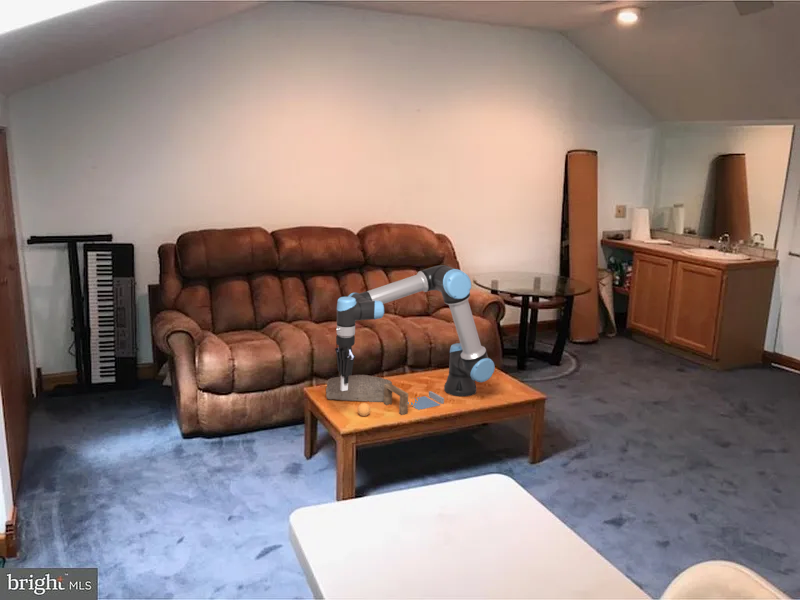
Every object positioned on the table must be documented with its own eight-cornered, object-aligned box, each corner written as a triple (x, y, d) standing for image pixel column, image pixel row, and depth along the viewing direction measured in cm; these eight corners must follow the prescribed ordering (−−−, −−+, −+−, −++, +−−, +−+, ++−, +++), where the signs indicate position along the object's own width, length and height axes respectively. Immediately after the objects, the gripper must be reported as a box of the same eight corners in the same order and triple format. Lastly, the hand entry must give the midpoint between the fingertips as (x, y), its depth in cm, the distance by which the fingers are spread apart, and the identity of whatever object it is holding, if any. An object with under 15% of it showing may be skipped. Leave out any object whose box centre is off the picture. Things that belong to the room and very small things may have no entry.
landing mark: (424, 396, 313) (424, 396, 313) (440, 405, 303) (440, 404, 303) (403, 401, 306) (403, 400, 306) (418, 410, 297) (418, 409, 296)
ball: (366, 412, 292) (366, 400, 291) (372, 416, 288) (373, 404, 286) (354, 414, 289) (355, 402, 288) (361, 419, 285) (361, 406, 284)
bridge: (389, 402, 304) (390, 383, 302) (407, 413, 292) (408, 393, 290) (383, 403, 302) (384, 384, 300) (401, 415, 290) (402, 394, 288)
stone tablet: (324, 402, 303) (391, 403, 303) (324, 384, 301) (392, 386, 301) (328, 387, 322) (391, 388, 323) (328, 370, 321) (392, 371, 321)
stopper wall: (430, 396, 313) (431, 391, 313) (443, 403, 305) (444, 398, 305) (428, 396, 313) (428, 391, 312) (441, 403, 305) (441, 398, 304)
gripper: (329, 332, 278) (328, 386, 284) (345, 340, 268) (343, 396, 273) (346, 330, 282) (344, 383, 288) (361, 338, 272) (359, 393, 277)
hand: (344, 390), depth 280 cm, fingers closed
